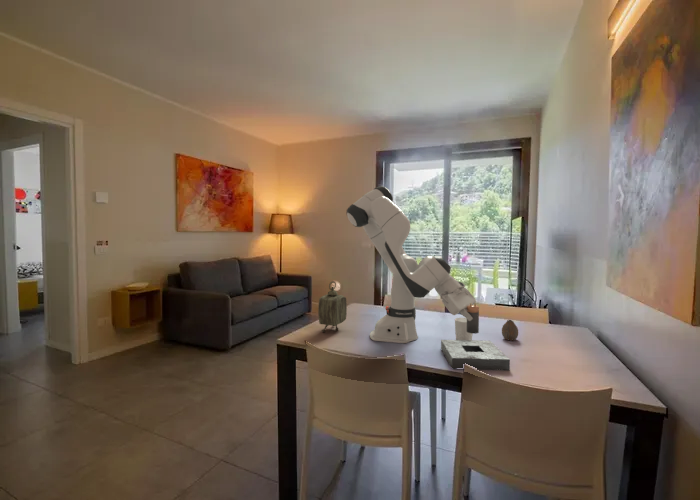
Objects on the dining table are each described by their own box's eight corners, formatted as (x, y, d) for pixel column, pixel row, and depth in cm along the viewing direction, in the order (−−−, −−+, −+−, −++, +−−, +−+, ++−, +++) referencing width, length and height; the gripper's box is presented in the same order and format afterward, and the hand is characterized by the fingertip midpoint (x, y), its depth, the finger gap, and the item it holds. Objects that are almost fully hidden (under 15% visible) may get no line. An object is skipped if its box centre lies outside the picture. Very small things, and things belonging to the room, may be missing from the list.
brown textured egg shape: (520, 342, 144) (520, 322, 144) (503, 341, 145) (504, 322, 145) (515, 337, 151) (516, 318, 150) (499, 336, 152) (500, 318, 152)
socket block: (452, 368, 116) (452, 358, 116) (441, 349, 136) (441, 339, 136) (509, 370, 114) (509, 359, 114) (489, 350, 134) (490, 340, 134)
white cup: (472, 339, 147) (473, 318, 147) (473, 345, 140) (473, 323, 139) (454, 338, 150) (455, 317, 149) (454, 343, 142) (454, 321, 142)
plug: (468, 333, 122) (468, 304, 122) (465, 329, 127) (465, 301, 126) (480, 333, 122) (480, 304, 121) (476, 330, 126) (477, 302, 126)
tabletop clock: (332, 325, 171) (331, 279, 170) (347, 327, 168) (347, 280, 166) (318, 333, 158) (317, 282, 157) (334, 335, 154) (334, 284, 153)
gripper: (445, 288, 120) (471, 319, 114) (464, 282, 136) (488, 308, 130) (433, 299, 123) (458, 329, 117) (453, 291, 139) (476, 317, 133)
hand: (474, 318), depth 124 cm, fingers closed on plug, 4 cm apart
